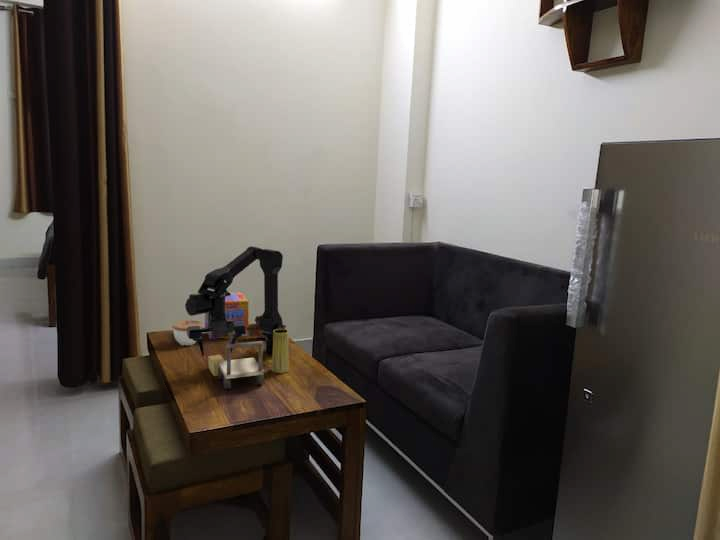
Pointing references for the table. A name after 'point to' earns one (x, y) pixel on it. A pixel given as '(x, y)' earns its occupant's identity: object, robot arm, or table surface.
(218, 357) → the block
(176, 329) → the lidded jar
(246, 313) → the game box
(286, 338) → the vase
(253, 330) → the wooden carving
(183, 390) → the table surface
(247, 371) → the trolley
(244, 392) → the table surface
